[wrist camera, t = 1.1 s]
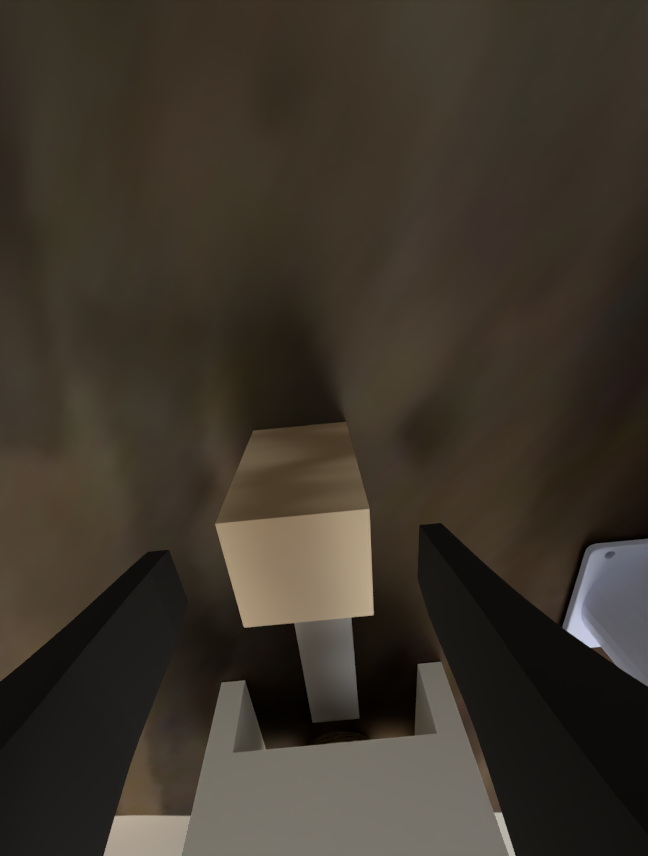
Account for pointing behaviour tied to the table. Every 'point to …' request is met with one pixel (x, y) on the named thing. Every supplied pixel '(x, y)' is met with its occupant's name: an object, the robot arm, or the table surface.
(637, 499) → the table surface
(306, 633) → the wooden and grey bar
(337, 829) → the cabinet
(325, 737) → the token
